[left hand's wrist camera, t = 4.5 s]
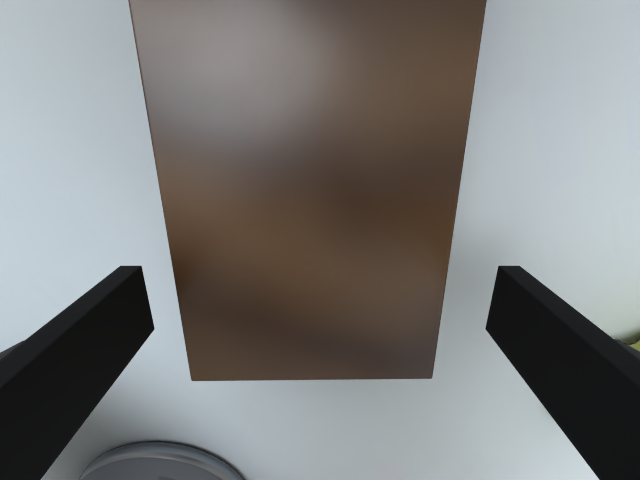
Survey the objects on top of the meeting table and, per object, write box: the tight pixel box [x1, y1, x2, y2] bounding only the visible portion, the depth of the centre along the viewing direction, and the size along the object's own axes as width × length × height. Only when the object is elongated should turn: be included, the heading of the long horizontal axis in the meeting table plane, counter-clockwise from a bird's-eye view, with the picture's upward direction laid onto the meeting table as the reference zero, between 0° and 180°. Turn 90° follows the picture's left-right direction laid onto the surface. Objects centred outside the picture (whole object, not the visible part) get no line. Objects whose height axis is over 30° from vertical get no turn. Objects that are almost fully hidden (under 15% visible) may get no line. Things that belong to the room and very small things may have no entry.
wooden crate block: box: [128, 0, 486, 381], centre depth 15 cm, size 20×10×9 cm, turn 0°
